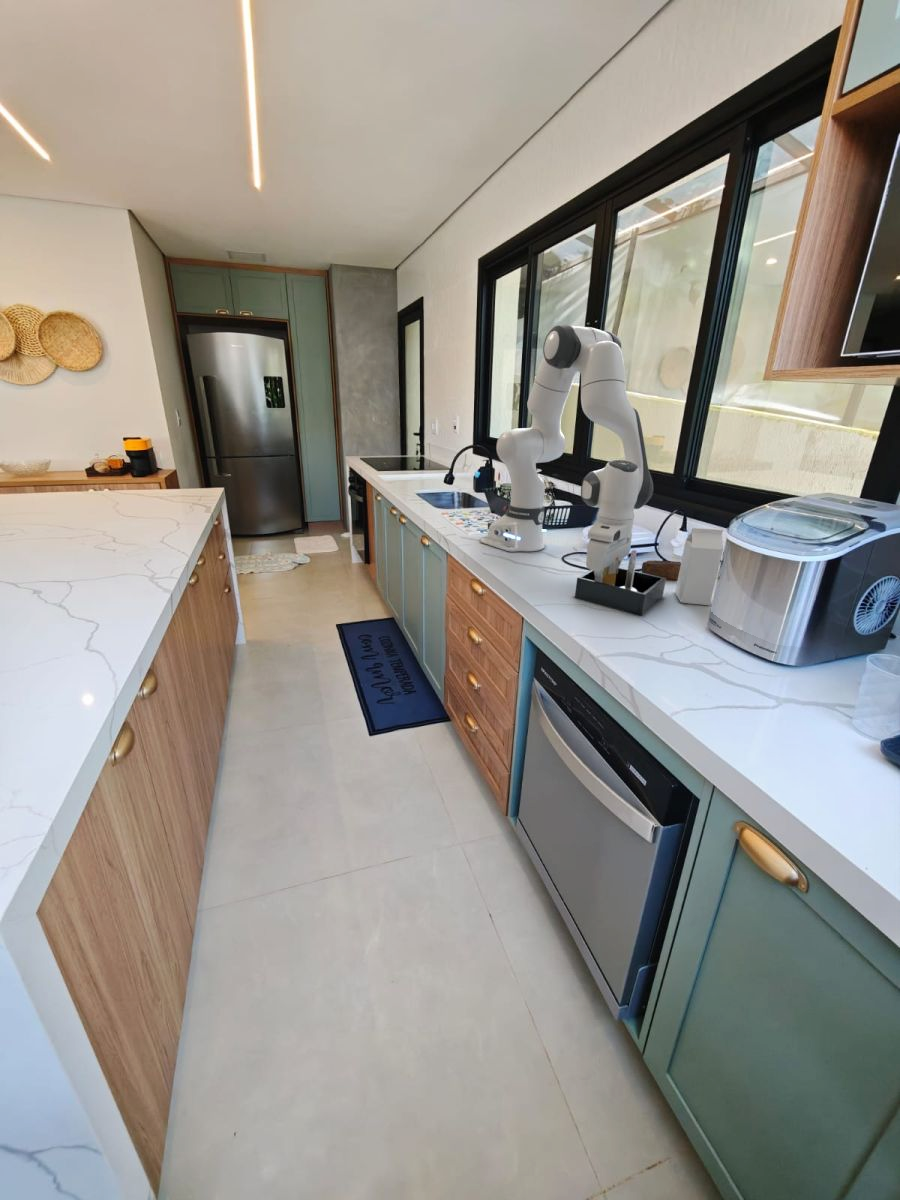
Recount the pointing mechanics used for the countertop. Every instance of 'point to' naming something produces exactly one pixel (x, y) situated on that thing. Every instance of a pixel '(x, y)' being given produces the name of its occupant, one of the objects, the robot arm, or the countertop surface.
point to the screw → (630, 572)
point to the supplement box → (610, 573)
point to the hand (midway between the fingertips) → (606, 578)
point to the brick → (662, 569)
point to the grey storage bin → (622, 591)
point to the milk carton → (699, 566)
